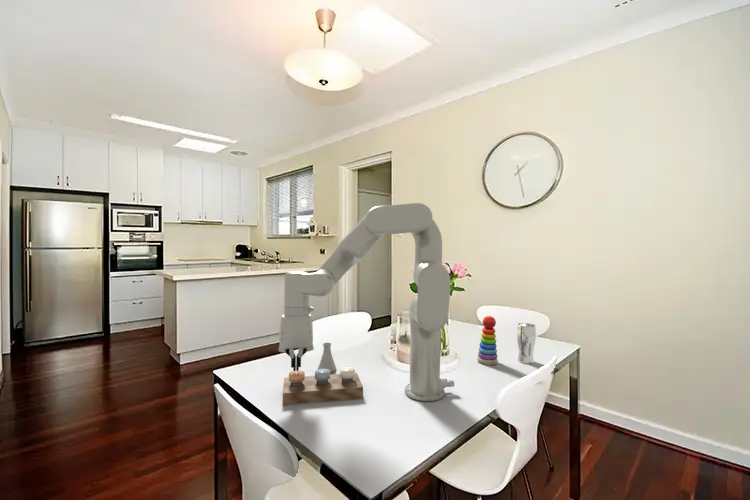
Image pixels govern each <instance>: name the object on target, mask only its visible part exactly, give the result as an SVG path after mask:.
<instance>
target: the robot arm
mask: <svg viewBox="0 0 750 500" xmlns="http://www.w3.org/2000/svg"><path fill="white" fill-rule="evenodd" d="M407 233H408V234H409V233H410V234H411V235H412V237H413V240H414V253H415V254H414V267H413V281H414V283H415V285H416V286H417V294H416V295H417V296H415V297H414V298H413V299H412V301H411V302H410V305H409V314H408V315H409V328H410V330H409V332H410V333H409V334H410V336H409V337H410V344H409V345H410V346H409V349H410V350H409V384H407V385H406V386H404V393H405V396H408V397H409V398H410V399H413V400H417V401H420V402H435V401H438V400H441V399H442V398H444V397H445V392H446V390H445V388H454V387H455V381H454V380H453V379H452V380H448V379H447V378H441V377H440V376H441V329H443V328H444V327H445V325H446V323H447V322H448V318H449V313H450V298H451V278H450V273H449V271H448V270H447V268H446V267H445V266H444V265H443V238H442V233H441V230H440V229H439V227H438V224H437V223H436V222H435V220H434V218H433V212H432V211H431V209H430V208H429V206H427V205H426V204H424V203H421V202H420V203H419V202H412V203H402V204H393V205H392V204H391V205H377V206H374V207H372V208H371V209H369V210H368V211H367V213H365V215H364V216H363V217H362V218H361V219H360V220H359V222H358V223H357V224H356V225H354V227H353V228H352V229H351V230H350V231H349V233H348V234H347V235H346V236H345V237H344V238H342V240H341V241H340V242H339V244H338V246H337V248H336V249H335V250H334V252H333V253H332V254H331V255H330V256H329V257H328V258H327V260H326V261H325V262H324V263H323V264H322V265H321V266H320V267H319V268H318V269H317V270H316V272H310V273H308V272H307V271H303V270H294V271H292V270H291V271H288V272H286V273H285V275H284V299H283V302H284V304H283V305H284V306H283V307H284V311H283V314H282V315H281V318H280V323H279V324H280V325H279V340H278V341H279V345H278V346H279V347H278V349H277V350H278V352H280V353H285V354H287V355H288V356H289V357H290V363H291V364H290V368H293V369H292V371H299V370H300V369H299V368H301V367H302V357H303V356H304V355H305V354H306V353H307V352H311V351H314V349H315V348H314V343H313V342H314V327H313V318H312V314H310V313H311V312H314V311H315V310H314V309H315V307H314V306H310V296H313V297H314V296H315V297H326V296H329V294H330V293H332V292H333V291H332V290H333V288H334V287H335V285H336V284H337V283H338V282H339V281H340V280H341V279H342V277H343V276H344V275H346V273H348V271H349V270H350V269H351V268H353V267H354V266H355V265H357V264H358V263H359V262H361V260H363V258H365V256H366V255H367V254H368V253H369V252H370V251H371V250H372V249H373V248H374V246H376V245H377V243H378V242H379V241H380V240H381V239H382V238H383V237H384V236H385V235H398V234H407ZM295 349H298V351H297V354H295Z"/></svg>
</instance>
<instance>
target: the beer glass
mask: <svg viewBox="0 0 750 500" xmlns="http://www.w3.org/2000/svg"><path fill="white" fill-rule="evenodd" d="M516 335H517V336H516V338H517V347H518V357H517V362H519V363H520V364H526V365H531V364H534V363H535V360H534V350H535V345H536V339H537V337H536V335H537V331H536V325H535V324H534V323H528V322H520V323H517V331H516Z"/></svg>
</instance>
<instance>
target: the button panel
mask: <svg viewBox="0 0 750 500" xmlns="http://www.w3.org/2000/svg"><path fill="white" fill-rule="evenodd" d="M282 385H283V387H282V406H286V405H287V406H288V405H298V404H299V405H300V404H309V403H310V404H311V403H321V402H323V401H325V402H333V401H345V400H348V401H349V400H357V399H358V400H360V399H363V398H364V386H363V384H362V382H361V379H360V377H359V375H358V373H357V372H355V377H354V378H353V382H351V383H342V378H341V377H340V373H333V374H330V379H328V384H324V385H317V380H316V379H315V375H307V376H306V375H305V379H304V380H303V381H302V386H297V387H292V382H290V381H289V377H284V378H283V384H282Z"/></svg>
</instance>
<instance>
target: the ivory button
mask: <svg viewBox="0 0 750 500" xmlns="http://www.w3.org/2000/svg"><path fill="white" fill-rule="evenodd" d="M355 373H356V369H355V367H351V366H345V367H341V368H340V369H339V374H340V377H341V378H342V383H351V382H353V378H354V377H355Z"/></svg>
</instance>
